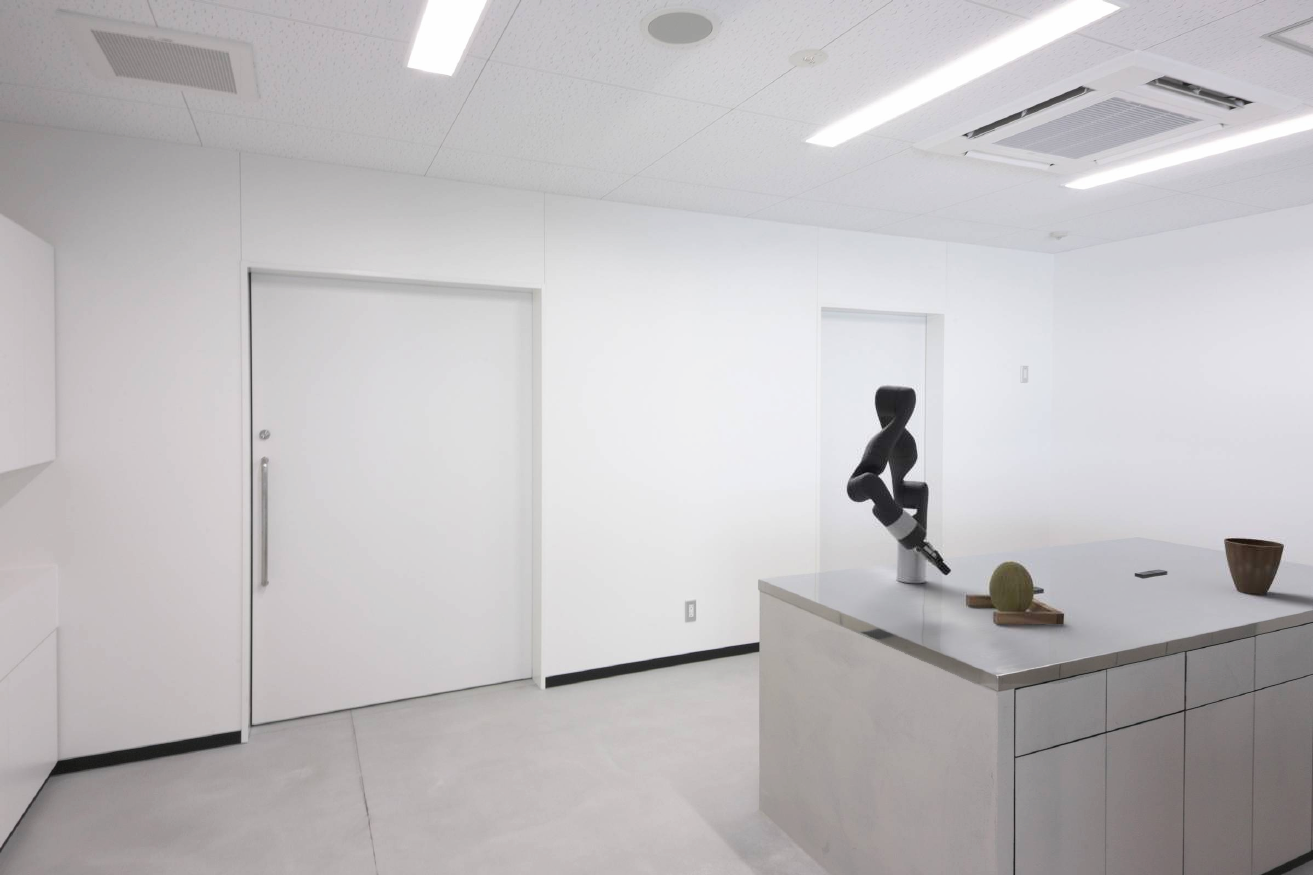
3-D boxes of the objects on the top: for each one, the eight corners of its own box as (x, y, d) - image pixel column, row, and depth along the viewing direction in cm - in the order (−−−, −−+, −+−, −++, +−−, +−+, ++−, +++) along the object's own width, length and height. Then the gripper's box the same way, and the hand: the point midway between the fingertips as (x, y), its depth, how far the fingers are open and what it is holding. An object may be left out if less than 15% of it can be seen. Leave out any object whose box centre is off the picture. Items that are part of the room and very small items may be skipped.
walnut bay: (966, 604, 224) (966, 594, 224) (1027, 604, 224) (1027, 594, 224) (996, 624, 204) (997, 613, 204) (1063, 624, 204) (1064, 613, 204)
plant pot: (1219, 584, 250) (1221, 536, 250) (1277, 590, 243) (1279, 540, 242) (1225, 594, 238) (1227, 543, 237) (1286, 600, 230) (1288, 548, 229)
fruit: (1018, 608, 220) (1020, 557, 219) (1041, 619, 209) (1043, 565, 208) (980, 609, 219) (982, 557, 218) (1002, 620, 208) (1003, 566, 207)
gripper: (923, 523, 206) (967, 568, 206) (906, 516, 219) (948, 558, 220) (903, 542, 206) (947, 587, 207) (888, 534, 219) (929, 576, 220)
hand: (947, 572), depth 213 cm, fingers closed
